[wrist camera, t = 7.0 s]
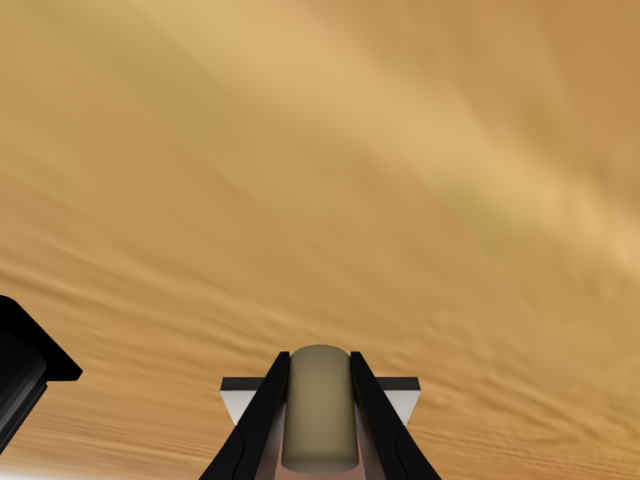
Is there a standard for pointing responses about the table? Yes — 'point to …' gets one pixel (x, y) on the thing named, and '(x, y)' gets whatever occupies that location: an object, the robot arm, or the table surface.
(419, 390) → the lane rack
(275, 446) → the robot arm
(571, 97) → the table surface
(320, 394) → the toy joystick
